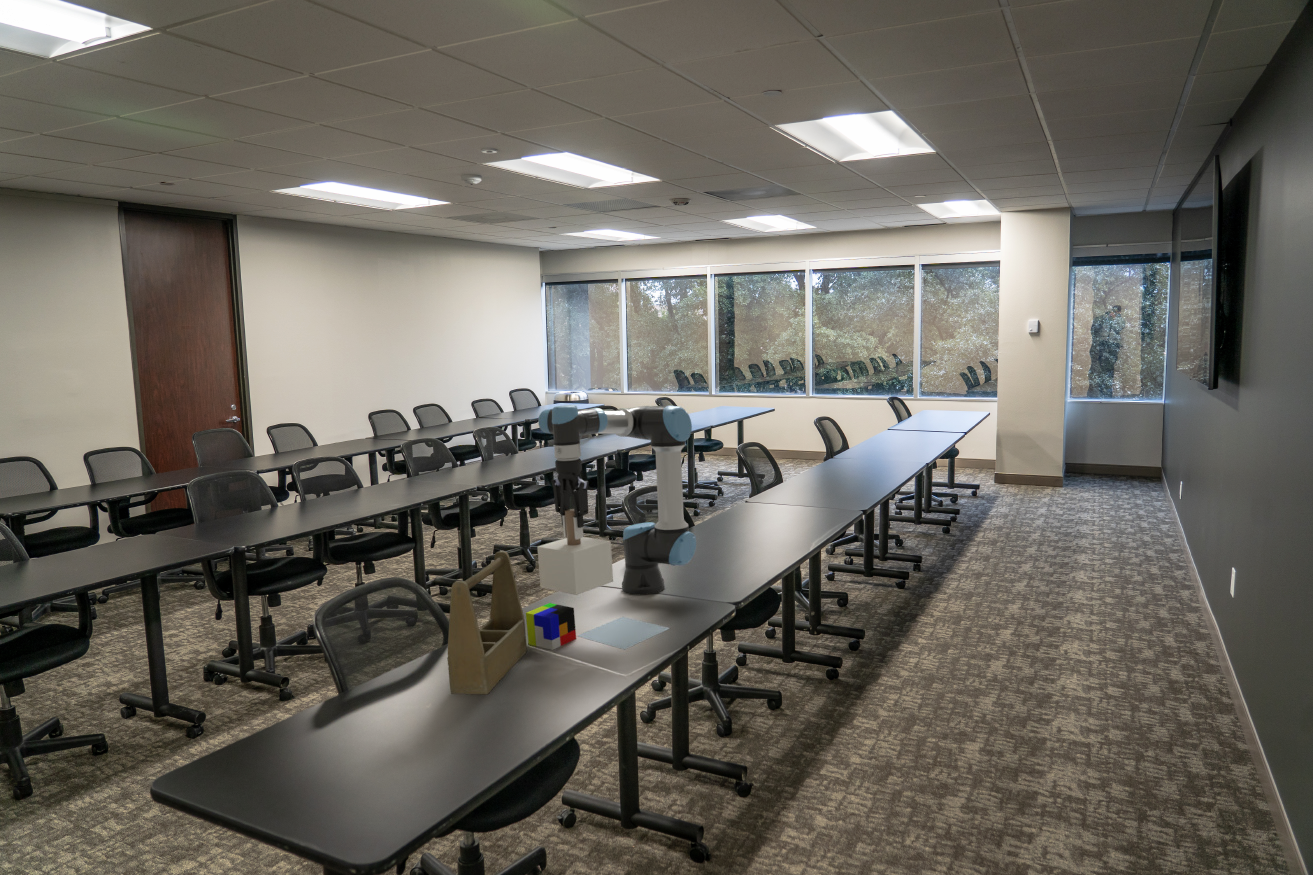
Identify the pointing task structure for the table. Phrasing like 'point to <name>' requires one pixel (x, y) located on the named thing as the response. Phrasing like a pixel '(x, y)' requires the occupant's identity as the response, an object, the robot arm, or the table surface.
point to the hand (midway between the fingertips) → (573, 537)
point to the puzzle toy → (551, 626)
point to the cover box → (575, 562)
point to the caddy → (485, 631)
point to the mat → (623, 632)
